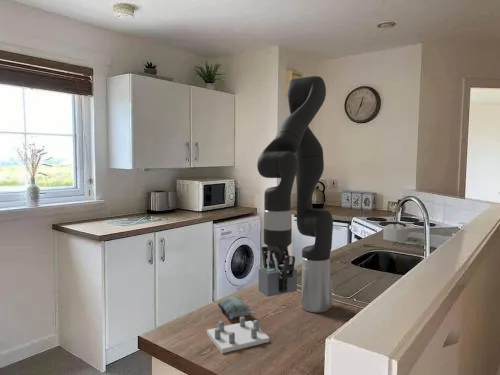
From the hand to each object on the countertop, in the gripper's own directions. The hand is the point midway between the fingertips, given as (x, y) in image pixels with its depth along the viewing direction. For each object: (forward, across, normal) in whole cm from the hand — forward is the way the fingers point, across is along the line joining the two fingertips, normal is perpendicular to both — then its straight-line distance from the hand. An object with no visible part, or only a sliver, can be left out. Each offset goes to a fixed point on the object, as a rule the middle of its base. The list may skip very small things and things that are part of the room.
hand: (277, 288), depth 104 cm
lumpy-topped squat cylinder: (+15, +75, -125) cm, 147 cm away
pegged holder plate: (+15, +8, +8) cm, 19 cm away
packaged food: (+16, +23, +2) cm, 28 cm away
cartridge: (+1, 0, 0) cm, 1 cm away
